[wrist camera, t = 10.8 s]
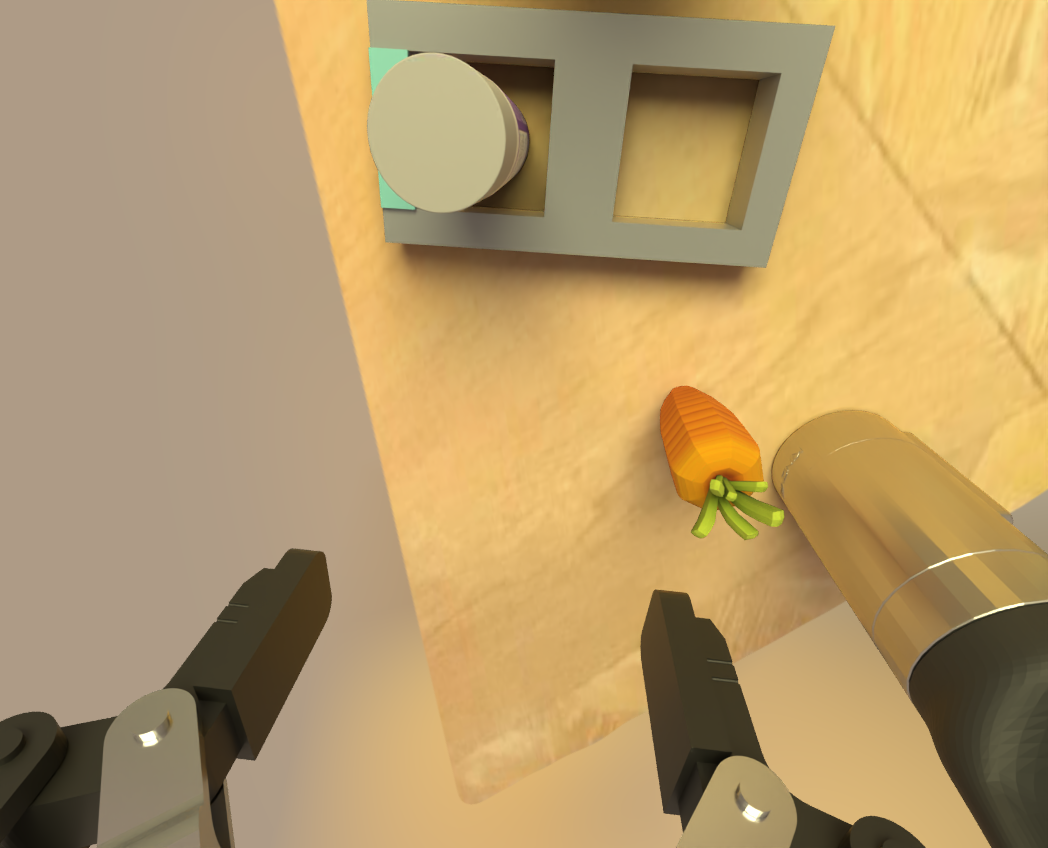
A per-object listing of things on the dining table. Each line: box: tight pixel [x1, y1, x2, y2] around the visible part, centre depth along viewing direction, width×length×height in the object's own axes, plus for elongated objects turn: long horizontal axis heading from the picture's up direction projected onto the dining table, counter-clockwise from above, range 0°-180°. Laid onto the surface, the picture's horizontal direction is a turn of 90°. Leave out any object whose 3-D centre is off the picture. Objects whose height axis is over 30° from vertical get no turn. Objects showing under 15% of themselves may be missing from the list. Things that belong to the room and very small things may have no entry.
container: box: [367, 52, 529, 213], centre depth 22 cm, size 5×5×15 cm
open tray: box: [367, 0, 835, 268], centre depth 27 cm, size 22×11×3 cm, turn 87°
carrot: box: [660, 386, 784, 540], centre depth 29 cm, size 5×5×15 cm
